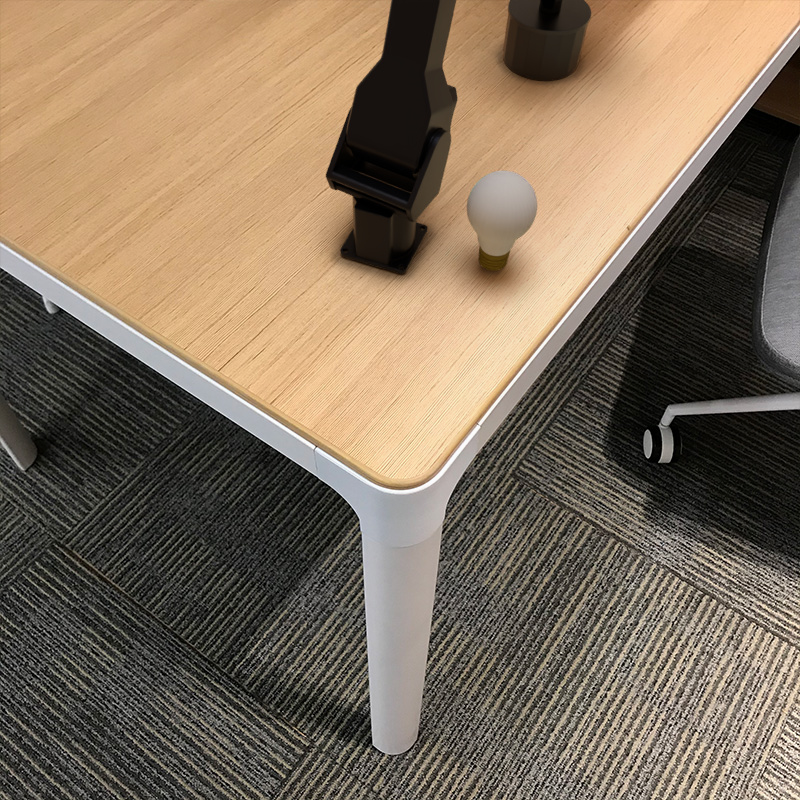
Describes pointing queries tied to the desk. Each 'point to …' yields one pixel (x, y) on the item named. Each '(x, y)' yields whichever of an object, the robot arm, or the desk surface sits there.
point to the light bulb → (500, 215)
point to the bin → (541, 52)
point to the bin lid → (550, 16)
